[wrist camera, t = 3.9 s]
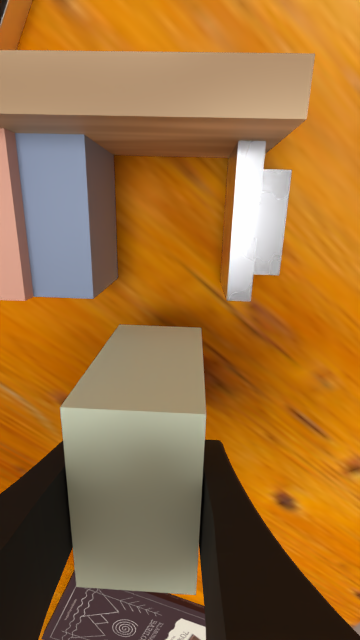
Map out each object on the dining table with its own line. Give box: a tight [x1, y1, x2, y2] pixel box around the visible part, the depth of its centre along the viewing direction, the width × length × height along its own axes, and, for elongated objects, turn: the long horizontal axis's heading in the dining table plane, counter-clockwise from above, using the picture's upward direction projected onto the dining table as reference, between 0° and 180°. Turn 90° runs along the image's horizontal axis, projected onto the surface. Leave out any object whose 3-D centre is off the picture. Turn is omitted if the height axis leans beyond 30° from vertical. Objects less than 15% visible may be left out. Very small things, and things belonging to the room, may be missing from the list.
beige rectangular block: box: [60, 324, 206, 595], centre depth 12 cm, size 6×4×6 cm, turn 179°
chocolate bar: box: [42, 570, 206, 640], centre depth 27 cm, size 9×1×18 cm
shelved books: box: [0, 128, 118, 301], centre depth 15 cm, size 6×5×5 cm
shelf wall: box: [0, 50, 315, 158], centre depth 12 cm, size 2×12×7 cm, turn 89°
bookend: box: [220, 141, 292, 301], centre depth 15 cm, size 6×3×4 cm, turn 179°
